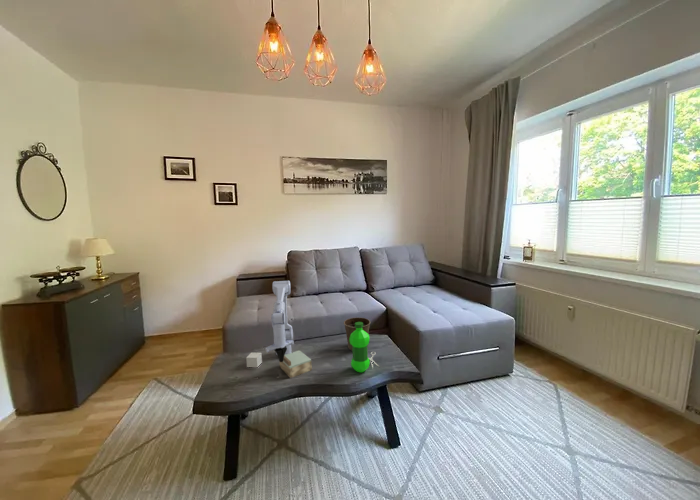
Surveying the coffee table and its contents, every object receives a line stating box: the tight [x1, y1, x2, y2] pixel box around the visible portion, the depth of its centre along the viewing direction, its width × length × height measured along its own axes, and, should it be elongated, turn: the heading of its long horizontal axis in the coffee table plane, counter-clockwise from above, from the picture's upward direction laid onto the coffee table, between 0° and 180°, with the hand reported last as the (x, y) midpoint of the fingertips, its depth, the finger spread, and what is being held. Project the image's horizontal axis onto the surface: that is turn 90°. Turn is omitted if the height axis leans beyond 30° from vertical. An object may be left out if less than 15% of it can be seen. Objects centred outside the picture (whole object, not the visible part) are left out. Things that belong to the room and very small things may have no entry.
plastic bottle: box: [349, 322, 371, 373], centre depth 149 cm, size 10×10×25 cm
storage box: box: [278, 360, 313, 379], centre depth 153 cm, size 12×14×5 cm
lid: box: [283, 350, 312, 368], centre depth 153 cm, size 12×14×3 cm
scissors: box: [368, 351, 379, 369], centre depth 160 cm, size 11×1×20 cm
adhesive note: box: [245, 352, 263, 368], centre depth 158 cm, size 6×6×6 cm
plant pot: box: [343, 316, 371, 351], centre depth 175 cm, size 16×16×16 cm
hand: (281, 361), depth 148 cm, fingers closed
